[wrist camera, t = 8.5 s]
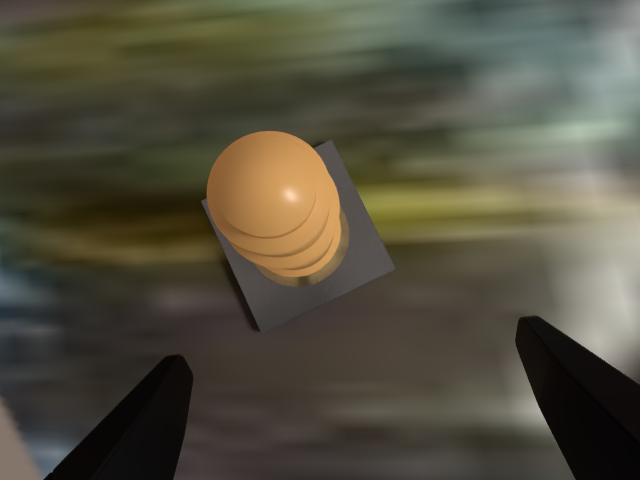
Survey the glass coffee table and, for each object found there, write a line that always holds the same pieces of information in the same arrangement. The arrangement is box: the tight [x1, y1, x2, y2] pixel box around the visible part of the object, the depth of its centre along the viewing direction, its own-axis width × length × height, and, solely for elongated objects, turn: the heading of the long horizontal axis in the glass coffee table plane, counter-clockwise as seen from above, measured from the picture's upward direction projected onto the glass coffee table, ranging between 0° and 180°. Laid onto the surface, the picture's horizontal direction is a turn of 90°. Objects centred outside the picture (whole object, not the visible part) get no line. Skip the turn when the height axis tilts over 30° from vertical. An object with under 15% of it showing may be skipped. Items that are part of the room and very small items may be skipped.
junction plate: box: [201, 140, 395, 334], centre depth 22 cm, size 8×8×1 cm
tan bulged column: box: [207, 131, 341, 277], centre depth 16 cm, size 5×5×12 cm
